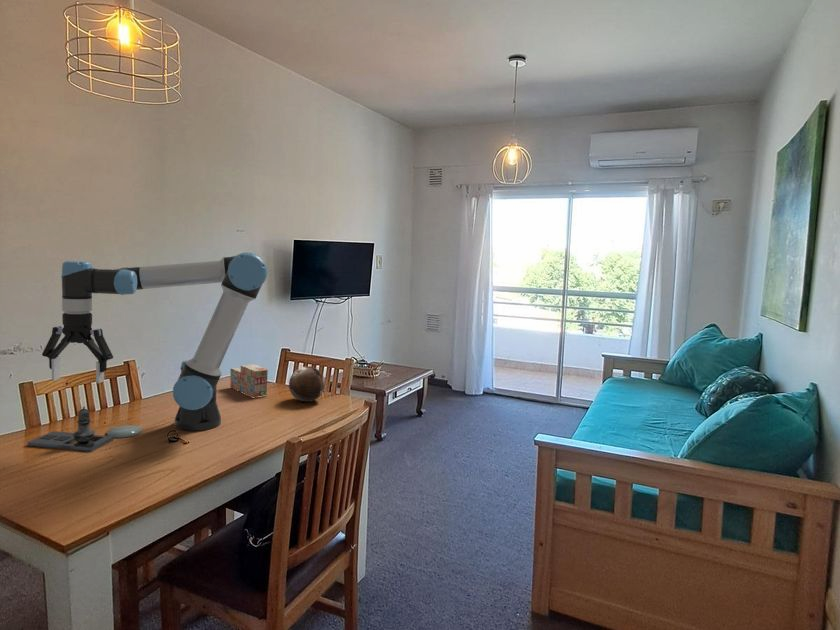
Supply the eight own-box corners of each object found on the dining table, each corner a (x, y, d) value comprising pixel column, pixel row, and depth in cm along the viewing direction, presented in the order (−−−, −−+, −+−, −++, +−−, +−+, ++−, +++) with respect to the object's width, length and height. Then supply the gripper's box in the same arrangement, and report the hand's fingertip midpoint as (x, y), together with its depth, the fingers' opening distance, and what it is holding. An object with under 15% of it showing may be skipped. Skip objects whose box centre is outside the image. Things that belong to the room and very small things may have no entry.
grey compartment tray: (113, 440, 163) (113, 436, 163) (91, 451, 153) (91, 447, 153) (53, 434, 164) (53, 430, 164) (27, 445, 154) (27, 441, 154)
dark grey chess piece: (84, 448, 155) (84, 410, 154) (67, 446, 156) (67, 407, 155) (99, 442, 161) (99, 405, 159) (83, 439, 162) (83, 402, 160)
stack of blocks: (229, 388, 233) (230, 361, 231) (242, 386, 237) (243, 360, 236) (253, 399, 218) (254, 370, 217) (267, 396, 223) (268, 369, 221)
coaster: (147, 429, 175) (147, 426, 174) (129, 439, 165) (129, 436, 165) (119, 426, 175) (119, 424, 175) (99, 436, 165) (99, 434, 165)
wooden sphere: (280, 400, 218) (282, 366, 216) (307, 394, 230) (308, 361, 229) (305, 408, 209) (306, 372, 208) (331, 401, 222) (333, 367, 220)
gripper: (125, 313, 159) (125, 380, 162) (45, 308, 159) (46, 375, 162) (110, 316, 152) (111, 386, 154) (26, 311, 152) (28, 381, 154)
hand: (78, 380), depth 158 cm, fingers open, 13 cm apart
